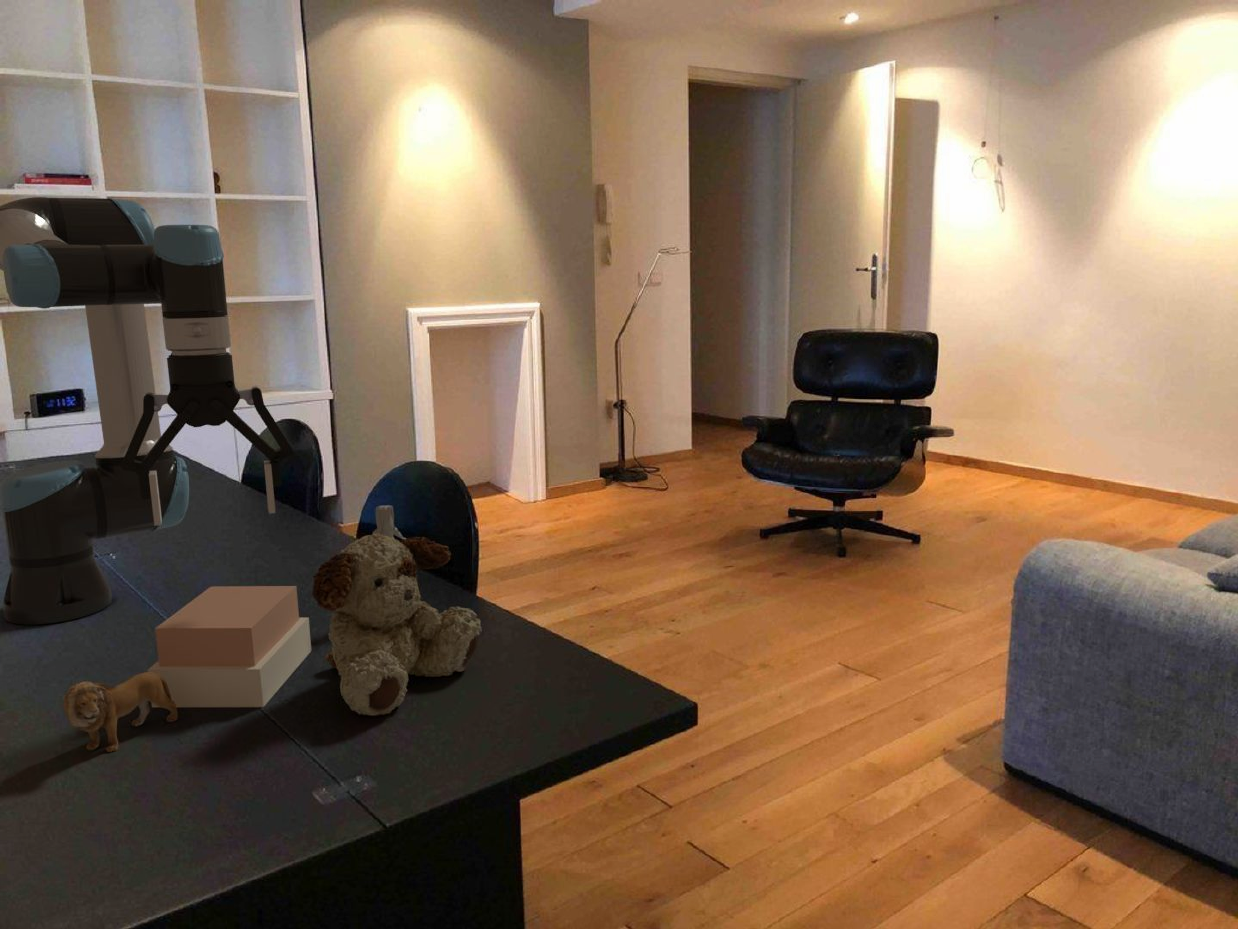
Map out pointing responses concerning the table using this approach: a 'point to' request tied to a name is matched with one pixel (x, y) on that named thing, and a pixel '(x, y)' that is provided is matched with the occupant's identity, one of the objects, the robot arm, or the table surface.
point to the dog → (389, 620)
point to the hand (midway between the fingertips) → (216, 517)
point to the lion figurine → (115, 705)
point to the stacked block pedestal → (232, 646)
